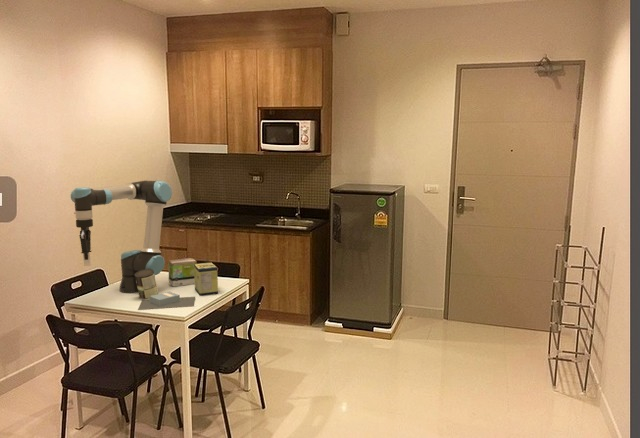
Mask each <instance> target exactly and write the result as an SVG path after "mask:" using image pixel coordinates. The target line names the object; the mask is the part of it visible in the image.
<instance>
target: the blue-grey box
mask: <svg viewBox="0 0 640 438" xmlns="http://www.w3.org/2000/svg"><path fill="white" fill-rule="evenodd" d="M180 295H181V294H178V293H175V292H173V291H167V292H162V293H161V292H160V293H158V294H157V295H152V296H150V303H152V304H155V305H157V306H163V305H167V304H171V303H175V302H179V301H180V298H181V296H180Z"/></svg>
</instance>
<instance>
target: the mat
mask: <svg viewBox="0 0 640 438" xmlns="http://www.w3.org/2000/svg"><path fill="white" fill-rule="evenodd" d="M195 301H196V296H184V297H181V296H180V301H179V302H175V303H171V304H167V305H163V306H157V305H155V304H152V303H150V299H141V302H140V304H139V307H138V308H137V311H145V310H146V311H147V310H160V309H177V308H188V307H189V308H190V307H195Z"/></svg>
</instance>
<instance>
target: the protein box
mask: <svg viewBox="0 0 640 438" xmlns="http://www.w3.org/2000/svg"><path fill="white" fill-rule="evenodd" d="M194 277H195V284H194V290H195V291H196V293H197V294H198V296H199V297H203V296H210V295H218V294H219V286H218V284H219V283H218V267H217V266H216V265H215V264H213V263H212V261H211V262H200V263H197V264H194Z"/></svg>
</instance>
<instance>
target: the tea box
mask: <svg viewBox="0 0 640 438" xmlns="http://www.w3.org/2000/svg"><path fill="white" fill-rule="evenodd" d="M197 262H198V261H197V260H195V259H194V258H193V257H192V258H191V257H190V258H181V259H180V258H179V259H178V258H177V259H169V260H168V262H167V263H168V264H167V265H168V284H169V285H170V286H171V287H173V288H174V287H179V286H187V285H195V277H194V264H198V263H197Z"/></svg>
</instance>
